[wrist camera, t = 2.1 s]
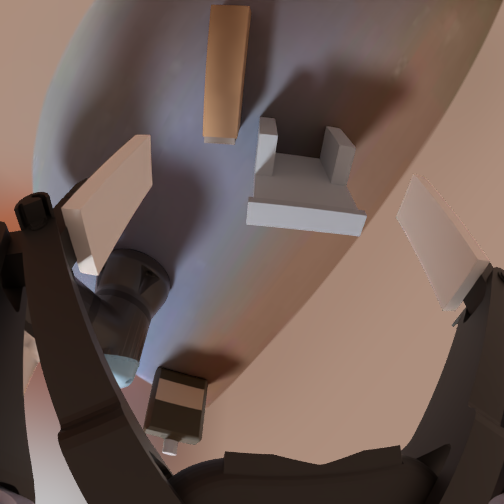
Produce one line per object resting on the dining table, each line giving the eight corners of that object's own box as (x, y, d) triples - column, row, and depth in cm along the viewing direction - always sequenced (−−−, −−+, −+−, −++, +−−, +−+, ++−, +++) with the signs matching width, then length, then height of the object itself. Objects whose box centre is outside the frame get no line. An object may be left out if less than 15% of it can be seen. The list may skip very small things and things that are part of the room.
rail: (210, 128, 38) (202, 142, 34) (218, 10, 28) (211, 4, 23) (239, 130, 38) (236, 144, 34) (251, 12, 28) (249, 6, 23)
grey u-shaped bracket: (251, 165, 42) (246, 224, 30) (256, 116, 37) (253, 156, 25) (332, 175, 42) (359, 236, 30) (343, 129, 37) (380, 174, 26)
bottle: (202, 388, 88) (194, 460, 69) (154, 375, 84) (139, 448, 65) (210, 379, 83) (201, 457, 64) (157, 364, 80) (141, 444, 60)
